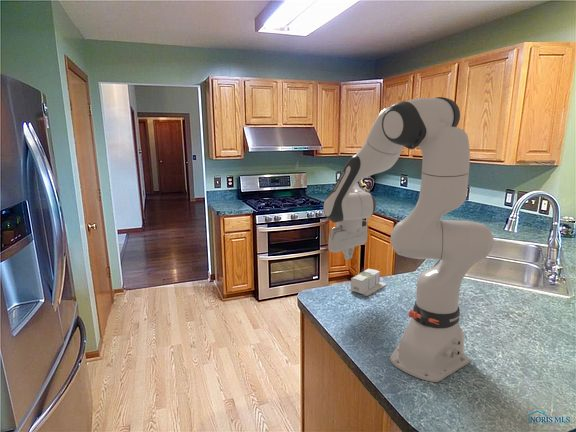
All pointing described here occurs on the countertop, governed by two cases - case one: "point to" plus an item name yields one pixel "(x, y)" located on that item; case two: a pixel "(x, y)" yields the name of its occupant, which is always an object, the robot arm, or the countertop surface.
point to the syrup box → (365, 281)
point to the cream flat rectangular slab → (374, 288)
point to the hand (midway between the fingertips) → (348, 258)
